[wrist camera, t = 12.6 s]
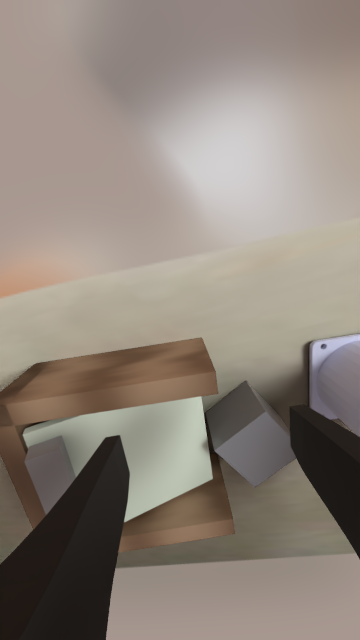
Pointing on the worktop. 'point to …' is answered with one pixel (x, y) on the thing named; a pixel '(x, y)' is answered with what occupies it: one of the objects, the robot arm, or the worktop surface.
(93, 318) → the worktop surface
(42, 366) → the frame
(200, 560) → the worktop surface
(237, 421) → the grey cube
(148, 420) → the trapdoor
